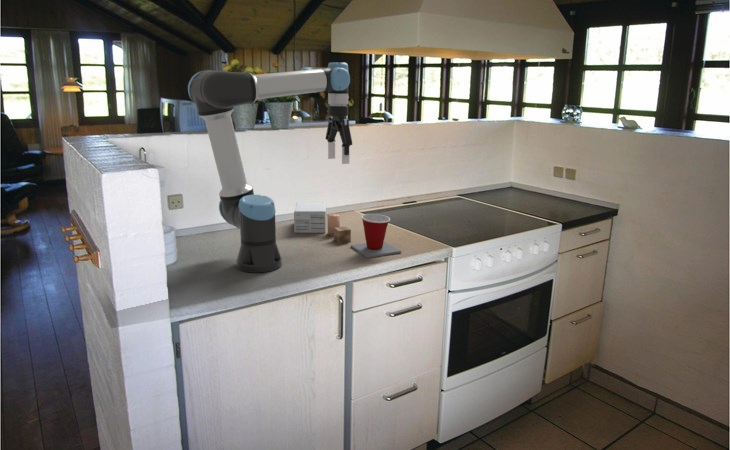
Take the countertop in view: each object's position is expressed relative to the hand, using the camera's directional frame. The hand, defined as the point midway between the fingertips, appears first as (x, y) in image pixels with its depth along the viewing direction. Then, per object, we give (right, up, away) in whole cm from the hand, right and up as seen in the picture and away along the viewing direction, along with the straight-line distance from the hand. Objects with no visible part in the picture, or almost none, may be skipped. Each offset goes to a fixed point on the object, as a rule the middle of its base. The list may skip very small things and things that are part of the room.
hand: (338, 161), depth 213 cm
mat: (+14, -34, -7) cm, 38 cm away
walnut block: (+1, -31, +4) cm, 31 cm away
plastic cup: (+14, -33, -7) cm, 37 cm away
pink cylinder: (-3, -28, +13) cm, 31 cm away
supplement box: (-13, -26, +22) cm, 36 cm away
